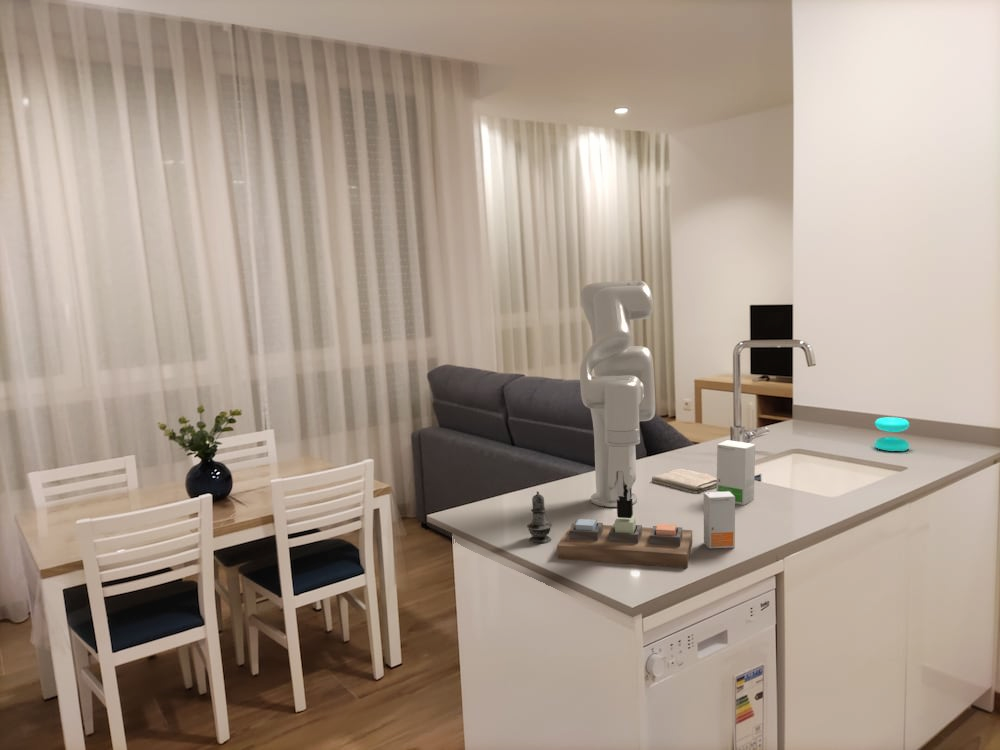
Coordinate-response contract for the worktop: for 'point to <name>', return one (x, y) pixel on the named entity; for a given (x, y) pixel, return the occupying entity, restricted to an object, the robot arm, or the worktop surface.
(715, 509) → the skincare box
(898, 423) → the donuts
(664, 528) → the terracotta button
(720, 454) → the skincare box
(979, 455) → the worktop surface
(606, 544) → the console
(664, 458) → the worktop surface
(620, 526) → the green button
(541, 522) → the dark grey figurine
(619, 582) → the worktop surface
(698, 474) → the washcloth
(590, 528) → the blue button
